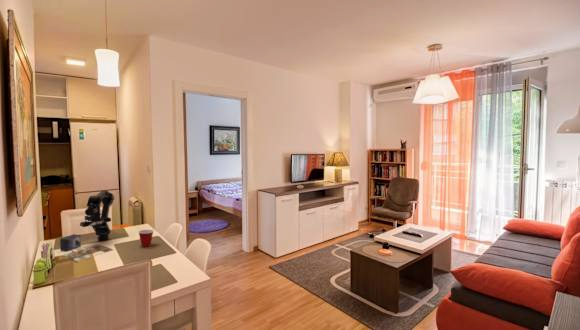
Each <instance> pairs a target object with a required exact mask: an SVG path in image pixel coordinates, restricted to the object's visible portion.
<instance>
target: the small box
mask: <svg viewBox="0 0 580 330" xmlns="http://www.w3.org/2000/svg"><path fill="white" fill-rule="evenodd" d="M59 242H60V244H59V247H60V251H61V252H70V251H72V250H73V249H77V248H81V247H82V246H81V243H82V242H81V235H80V234H75V233H74V234H70V235H67V236H64V237H61V238H60V240H59Z"/></svg>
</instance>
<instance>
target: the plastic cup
mask: <svg viewBox="0 0 580 330" xmlns="http://www.w3.org/2000/svg"><path fill="white" fill-rule="evenodd" d="M154 232H155V230H154V229H141V230H138V235H139V240H140V243H141V247H142V248H149V247H151V245H152V240H153V234H154Z"/></svg>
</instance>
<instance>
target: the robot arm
mask: <svg viewBox="0 0 580 330" xmlns="http://www.w3.org/2000/svg"><path fill="white" fill-rule="evenodd" d="M114 200H115V196H114V194H113V193H111V192H110V191H108V190H101V191H100V192H99V193H97V194H96V195H90V196H89V197H88V200H87V202H86V207H87V208H86V209H85V211H84V213H85V215H84V221H81V222H79V226H80V227H83V228H86V227H92V229H93V231H94V233H95V235H96V236H97V242H105V241H108V240H109V235H110V234H111V228H110V227H109V224H108V223H109V222H112V218H110V217H109V212H110V207H111V205H112V204H113V203H114ZM101 205H102V210H101Z"/></svg>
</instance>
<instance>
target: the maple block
mask: <svg viewBox="0 0 580 330" xmlns="http://www.w3.org/2000/svg"><path fill="white" fill-rule="evenodd" d="M86 251H87V249H86V248H85V247H82V246H81V247H78V248H76V249H73V250H71V252H72V256H74V257H79V256H83V255H86Z"/></svg>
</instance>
